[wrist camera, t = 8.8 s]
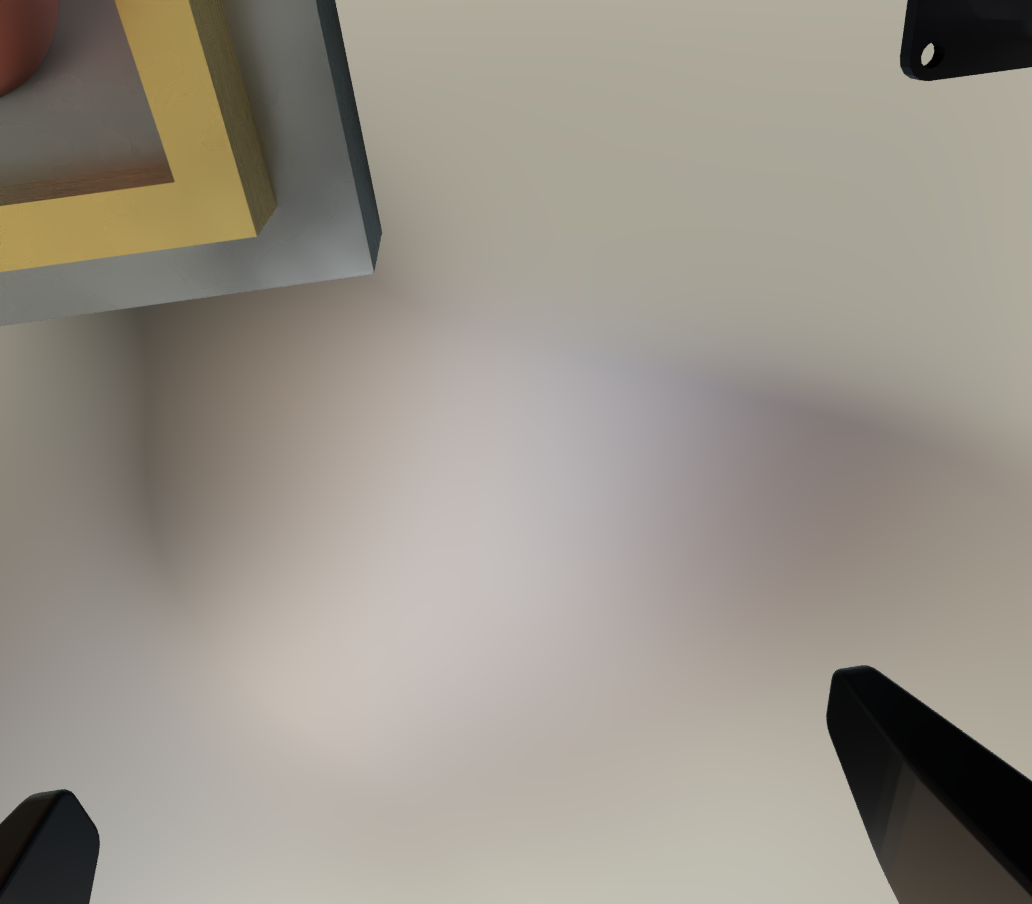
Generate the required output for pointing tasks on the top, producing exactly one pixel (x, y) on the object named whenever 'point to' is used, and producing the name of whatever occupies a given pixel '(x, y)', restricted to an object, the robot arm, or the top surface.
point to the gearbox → (182, 158)
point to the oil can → (24, 39)
